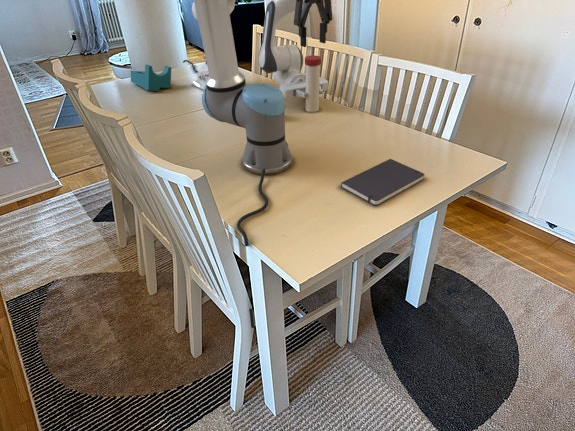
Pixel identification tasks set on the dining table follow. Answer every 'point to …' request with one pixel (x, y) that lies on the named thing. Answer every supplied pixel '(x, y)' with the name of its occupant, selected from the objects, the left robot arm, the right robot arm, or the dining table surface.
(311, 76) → the jar
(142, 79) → the teal notched cradle block
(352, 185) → the notebook
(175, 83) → the dining table surface
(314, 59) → the lid
